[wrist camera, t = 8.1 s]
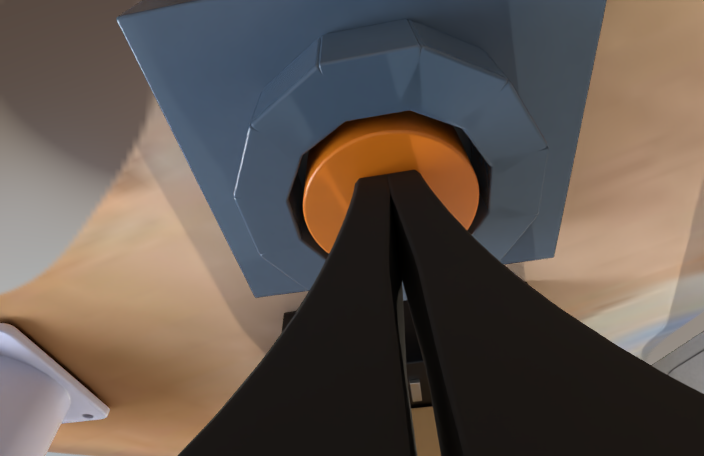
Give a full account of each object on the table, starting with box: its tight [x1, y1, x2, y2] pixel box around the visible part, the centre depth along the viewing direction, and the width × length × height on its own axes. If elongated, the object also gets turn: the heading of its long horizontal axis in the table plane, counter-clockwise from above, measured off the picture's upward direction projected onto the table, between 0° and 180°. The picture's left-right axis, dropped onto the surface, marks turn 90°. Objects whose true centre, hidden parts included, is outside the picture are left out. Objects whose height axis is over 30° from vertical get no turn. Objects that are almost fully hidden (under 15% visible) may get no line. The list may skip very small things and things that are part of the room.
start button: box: [303, 110, 479, 254], centre depth 10 cm, size 4×4×2 cm
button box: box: [117, 0, 607, 301], centre depth 11 cm, size 10×9×4 cm
